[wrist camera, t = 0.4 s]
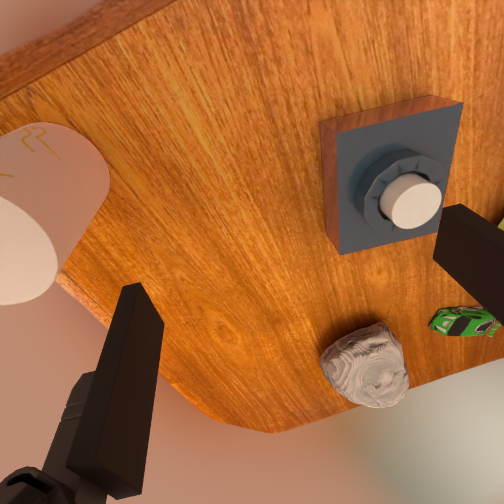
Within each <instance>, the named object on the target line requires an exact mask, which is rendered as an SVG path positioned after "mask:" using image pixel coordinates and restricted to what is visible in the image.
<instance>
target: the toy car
mask: <svg viewBox="0 0 504 504" xmlns="http://www.w3.org/2000/svg"><path fill="white" fill-rule="evenodd" d="M481 307H482V306H478V307H473V308H468V307H458V308H457V309H456V308H453V307H452V308H450V309H449V308H447V309H441V310H439V312H438V313H437V315H436V316H435V317H434V319H433V320H432V323H431V324H430V326H429V328H431V329H432V330H436V331H437V332H439V333H441V334H444V335H447V336H482V335H484V334H485V333H486V332H487V331H488V329H489V328H491V329H492V331H491V332H490V333H489V334H487V336H490V337H493V336H492V334H493V333H494V332H495V331H496V330H497V329H498V328H499V327H500V325H501V323H500V322H498V323H497V324H496V322H495V320H496V319H495V318H494V317H493V316H492V315H491V314H490V313H489V312H488V311H487V310H486V309H485V308H484V307H482V308H481ZM493 323H494V324H496V326H495V327H494V328H492V326H491V325H492V324H493Z"/></svg>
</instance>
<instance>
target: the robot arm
mask: <svg viewBox="0 0 504 504" xmlns="http://www.w3.org/2000/svg"><path fill="white" fill-rule="evenodd" d="M433 259H434V260H435V261H436V262H437V263H438V264H439V265H440V266H441V267H442V268H443V269H444V270H445V271H446V272H447V273H448V274H449V275H450V276H451V277H452V278H454V279H455V280H456V281H457V282H458V283H459V284H460V285H461V286H462V287H463V288H464V289H465V290H466V291H467V292H468V293H469V294H470V295H471V296H472V297H473V298H474V299H476V300H477V301H478V302H479V303H480V304H481V305H482V306H483V307H484V308H485V309H486V310H487V311H488V312H489V313H490V314H491V315H492V316H493V317H494V318H495V319H496V320H498V321H499V322H500V323H501V324H502V325H503V326H504V231H503V230H502V229H500V228H498V227H497V226H495V225H494V224H492V223H491V222H489V221H487V220H486V219H484V218H483V217H481V216H480V215H478V214H476V213H475V212H473V211H472V210H470V209H469V208H467V207H465V206H464V205H462V204H457V205H453V206H448V207H444V208H443V210H442V215H441V220H440V224H439V229H438V234H437V239H436V244H435V249H434V254H433ZM163 331H164V322H163V320H162V319H161V317H160V315H159V314H158V312H157V310H156V308H155V307H154V305H153V303H152V301H151V300H150V298H149V296H148V294H147V293H146V291H145V289H144V288H143V286H142V284H141V282H139V283H135V284H130V285H126V286H123V288H122V291H121V294H120V297H119V300H118V303H117V306H116V309H115V312H114V315H113V319H112V322H111V325H110V328H109V331H108V334H107V337H106V340H105V343H104V346H103V349H102V353H101V356H100V359H99V362H98V365H97V368H96V371H93V372H88V373H84V374H83V375H82V376H81V377H80V379H79V380H78V382H77V383H76V384H75V386H74V387H73V389H72V391H71V393H70V396H69V399H68V401H67V404H66V408H65V409H64V412H63V415H62V417H61V422H60V423H59V425H58V428H57V431H56V433H55V436H54V439H53V441H52V444H51V447H50V450H49V452H48V455H47V458H46V460H45V463H44V466H43V468H42V471H40V470H38V469H37V468H35V467H24V468H21V469H18V470H16V471H14V472H13V473H12V474H10V475H9V476H7V477H6V478H5V479H4V480H3V481H2V482H1V483H0V504H106V499H107V494H108V495H110V496H112V497H113V498H114V499H116V500H119V499H123V498H127V497H131V496H136V495H140V494H142V486H143V478H144V472H145V463H146V456H147V449H148V441H149V435H150V427H151V420H152V412H153V405H154V398H155V390H156V383H157V375H158V368H159V360H160V353H161V346H162V338H163Z"/></svg>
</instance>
